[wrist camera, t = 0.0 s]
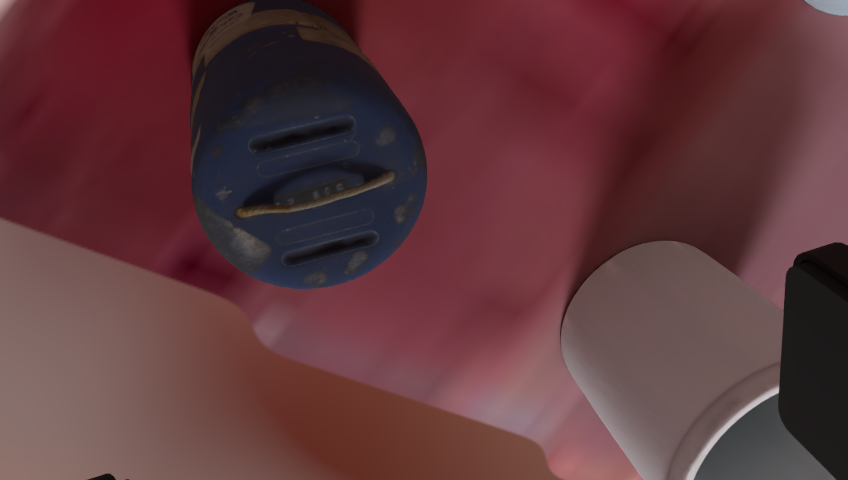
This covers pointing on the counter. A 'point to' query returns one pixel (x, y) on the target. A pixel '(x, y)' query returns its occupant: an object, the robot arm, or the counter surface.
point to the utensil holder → (684, 367)
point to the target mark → (830, 6)
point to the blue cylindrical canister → (299, 148)
